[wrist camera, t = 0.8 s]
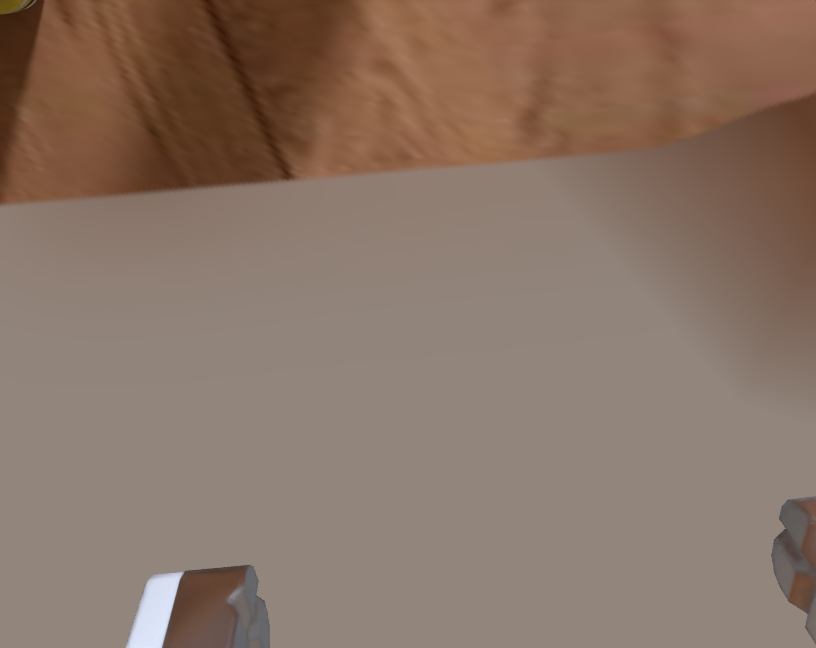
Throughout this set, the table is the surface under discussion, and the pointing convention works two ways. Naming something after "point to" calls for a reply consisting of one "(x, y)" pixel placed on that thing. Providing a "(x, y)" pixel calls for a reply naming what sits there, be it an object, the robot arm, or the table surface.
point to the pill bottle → (14, 5)
